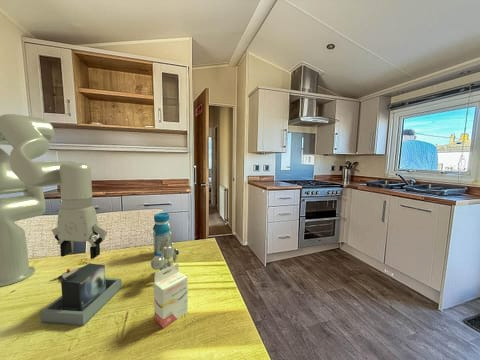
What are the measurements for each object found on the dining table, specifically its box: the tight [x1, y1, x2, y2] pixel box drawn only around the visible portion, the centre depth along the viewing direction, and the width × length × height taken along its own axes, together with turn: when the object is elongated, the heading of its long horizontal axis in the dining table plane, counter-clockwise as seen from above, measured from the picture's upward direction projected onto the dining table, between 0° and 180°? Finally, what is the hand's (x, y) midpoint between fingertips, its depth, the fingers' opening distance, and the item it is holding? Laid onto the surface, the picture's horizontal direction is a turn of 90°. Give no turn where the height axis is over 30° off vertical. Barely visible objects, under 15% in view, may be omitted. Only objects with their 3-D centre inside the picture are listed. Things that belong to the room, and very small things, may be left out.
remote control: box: [49, 265, 85, 283], centre depth 83 cm, size 7×16×3 cm, turn 142°
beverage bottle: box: [152, 212, 172, 257], centre depth 100 cm, size 8×8×20 cm
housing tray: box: [39, 277, 123, 327], centre depth 67 cm, size 13×17×4 cm
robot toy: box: [150, 238, 180, 275], centre depth 81 cm, size 15×6×15 cm, turn 165°
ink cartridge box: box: [153, 262, 189, 329], centre depth 62 cm, size 9×5×15 cm, turn 141°
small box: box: [60, 263, 106, 311], centre depth 67 cm, size 11×6×10 cm, turn 174°
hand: (80, 255), depth 66 cm, fingers open, 9 cm apart
